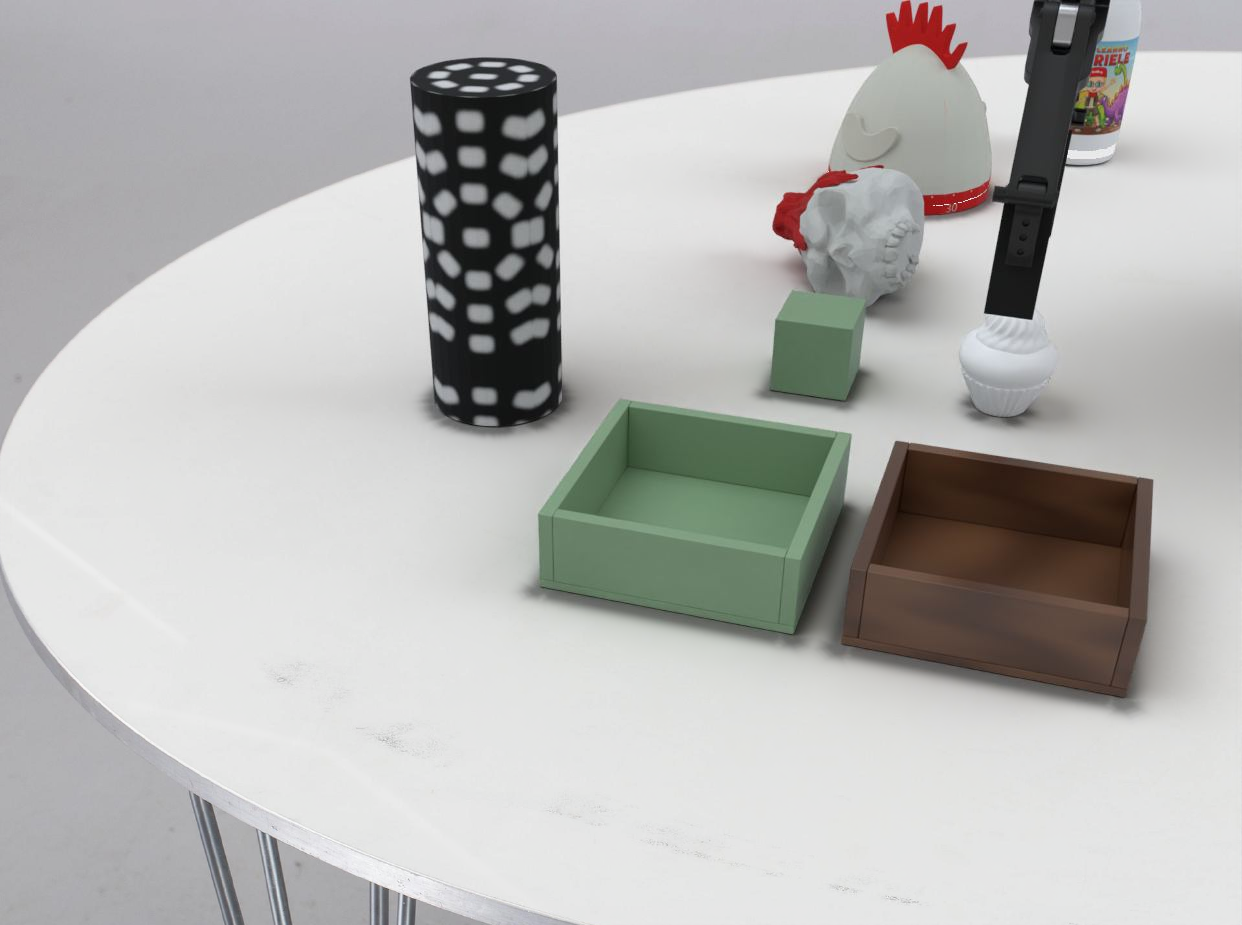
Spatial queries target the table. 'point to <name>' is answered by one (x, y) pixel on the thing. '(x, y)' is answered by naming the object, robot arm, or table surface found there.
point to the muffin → (1007, 363)
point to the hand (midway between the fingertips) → (1019, 271)
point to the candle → (856, 231)
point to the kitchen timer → (920, 116)
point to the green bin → (696, 514)
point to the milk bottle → (1108, 82)
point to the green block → (817, 344)
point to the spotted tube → (490, 236)
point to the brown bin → (1005, 567)
